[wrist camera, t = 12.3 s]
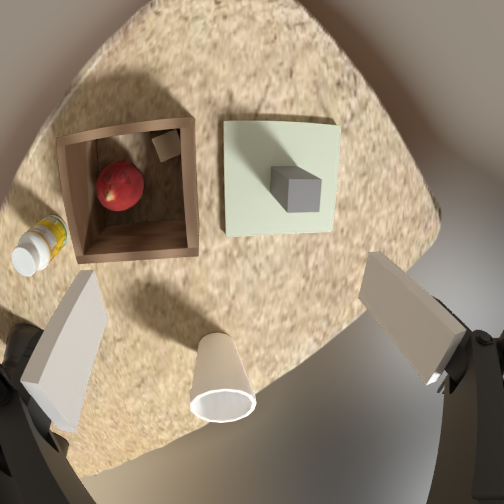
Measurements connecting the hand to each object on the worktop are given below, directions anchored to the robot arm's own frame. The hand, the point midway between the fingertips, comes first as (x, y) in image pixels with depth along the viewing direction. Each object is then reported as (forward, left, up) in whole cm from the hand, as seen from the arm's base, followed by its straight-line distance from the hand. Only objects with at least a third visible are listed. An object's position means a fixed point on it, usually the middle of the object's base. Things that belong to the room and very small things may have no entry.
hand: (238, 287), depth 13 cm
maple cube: (-5, +5, -25) cm, 26 cm away
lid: (+8, 0, -25) cm, 27 cm away
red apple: (-11, +1, -25) cm, 28 cm away
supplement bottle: (-24, -5, -25) cm, 35 cm away
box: (-9, +1, -25) cm, 27 cm away
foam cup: (-1, -28, -25) cm, 38 cm away
